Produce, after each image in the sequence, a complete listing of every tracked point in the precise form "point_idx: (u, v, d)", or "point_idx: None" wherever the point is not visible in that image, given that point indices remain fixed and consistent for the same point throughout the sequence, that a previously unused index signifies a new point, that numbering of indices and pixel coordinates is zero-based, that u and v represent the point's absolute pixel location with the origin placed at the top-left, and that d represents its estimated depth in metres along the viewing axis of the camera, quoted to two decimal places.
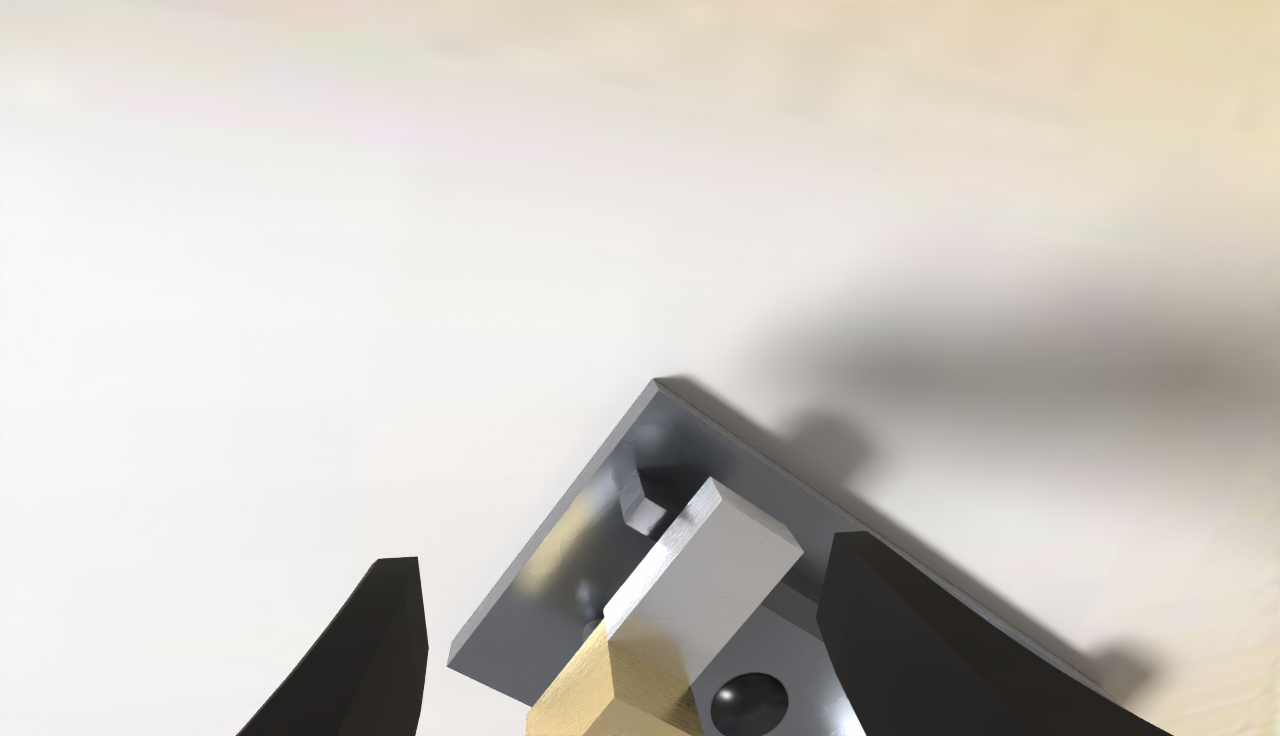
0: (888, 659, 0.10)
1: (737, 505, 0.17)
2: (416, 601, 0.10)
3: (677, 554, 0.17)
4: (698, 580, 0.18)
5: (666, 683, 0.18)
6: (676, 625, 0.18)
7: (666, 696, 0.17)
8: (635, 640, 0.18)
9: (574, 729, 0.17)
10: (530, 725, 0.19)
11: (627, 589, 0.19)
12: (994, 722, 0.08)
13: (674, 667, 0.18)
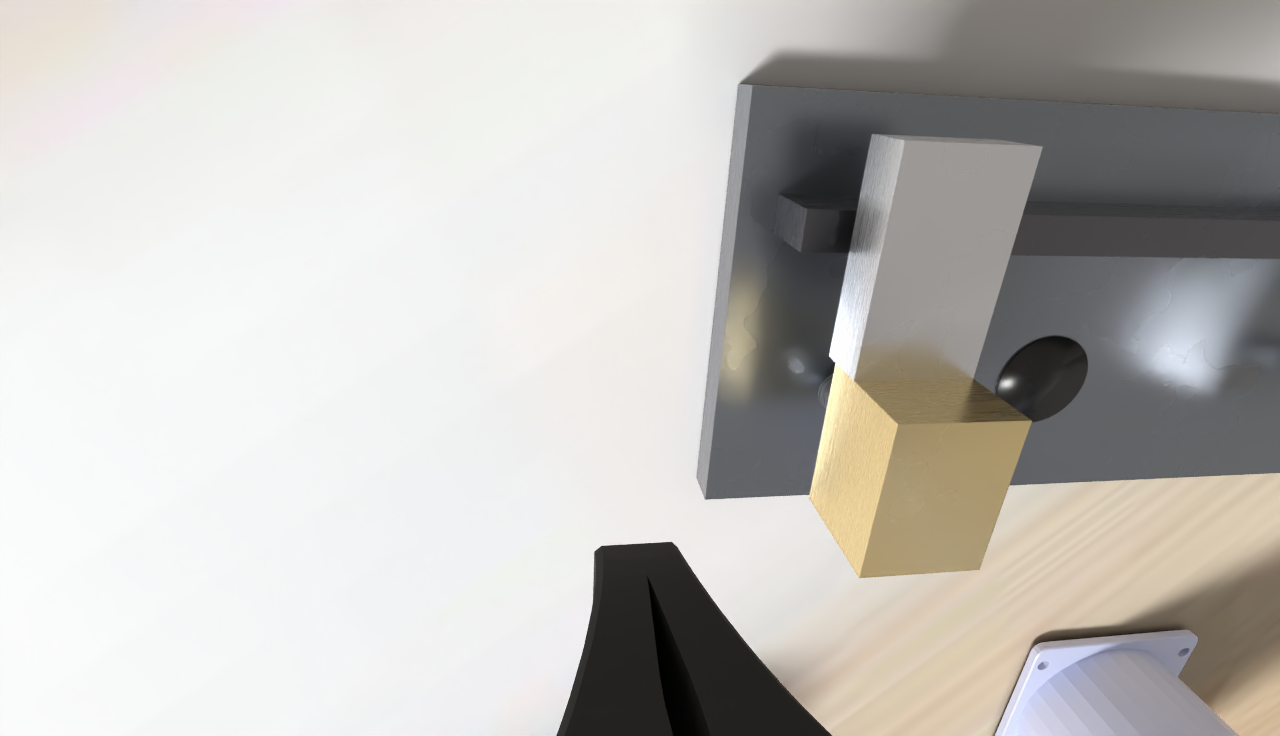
0: (660, 680, 0.09)
1: (926, 140, 0.13)
2: None
3: (883, 241, 0.13)
4: (924, 257, 0.14)
5: (945, 388, 0.14)
6: (923, 322, 0.14)
7: (954, 399, 0.14)
8: (884, 363, 0.15)
9: (871, 480, 0.14)
10: (819, 505, 0.17)
11: (843, 318, 0.15)
12: None
13: (944, 369, 0.15)
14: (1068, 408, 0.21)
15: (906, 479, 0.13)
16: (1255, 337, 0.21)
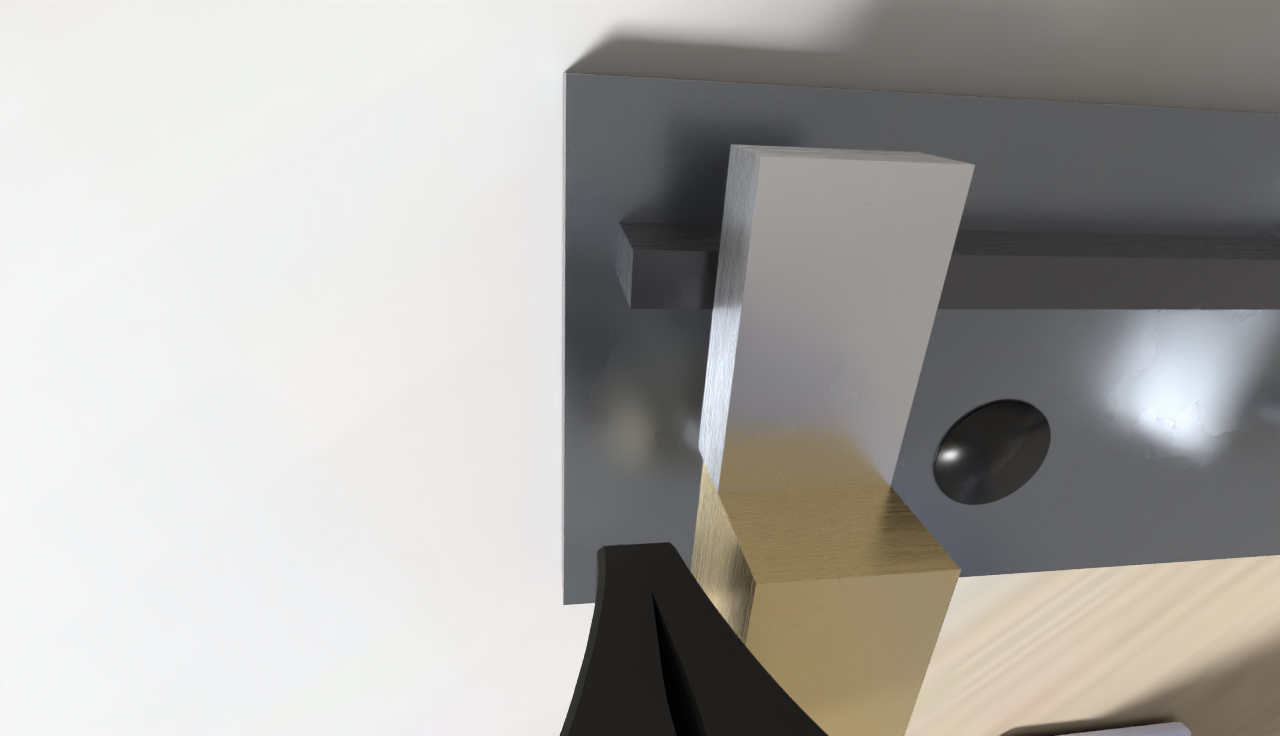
0: None
1: (799, 155, 0.09)
2: None
3: (741, 303, 0.09)
4: (805, 325, 0.09)
5: (846, 506, 0.10)
6: (812, 414, 0.10)
7: (854, 528, 0.10)
8: (760, 470, 0.10)
9: None
10: None
11: (709, 402, 0.11)
12: None
13: (848, 474, 0.11)
14: (1027, 486, 0.16)
15: (777, 652, 0.09)
16: (1262, 397, 0.16)
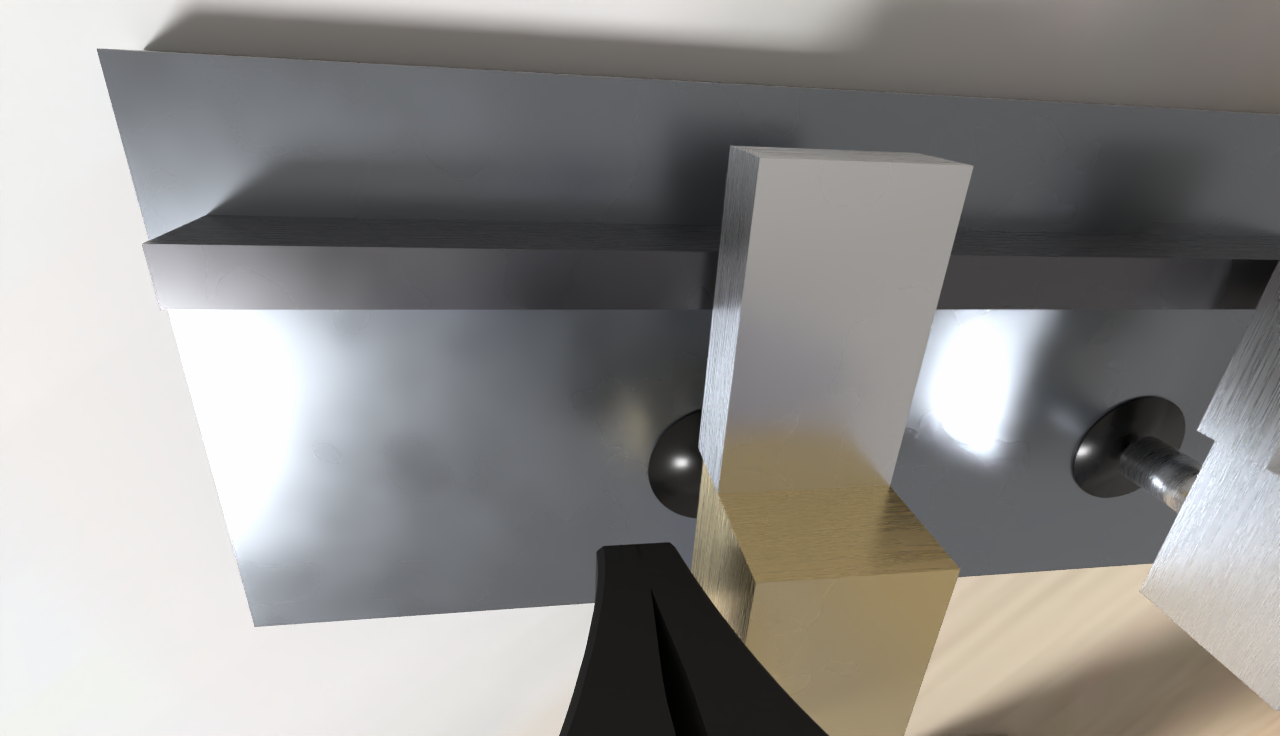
0: None
1: (798, 156, 0.09)
2: None
3: (741, 304, 0.09)
4: (804, 325, 0.09)
5: (846, 505, 0.10)
6: (812, 414, 0.10)
7: (854, 527, 0.10)
8: (760, 470, 0.10)
9: None
10: None
11: (709, 402, 0.11)
12: None
13: (848, 474, 0.11)
14: None
15: (777, 652, 0.09)
16: (1012, 403, 0.15)
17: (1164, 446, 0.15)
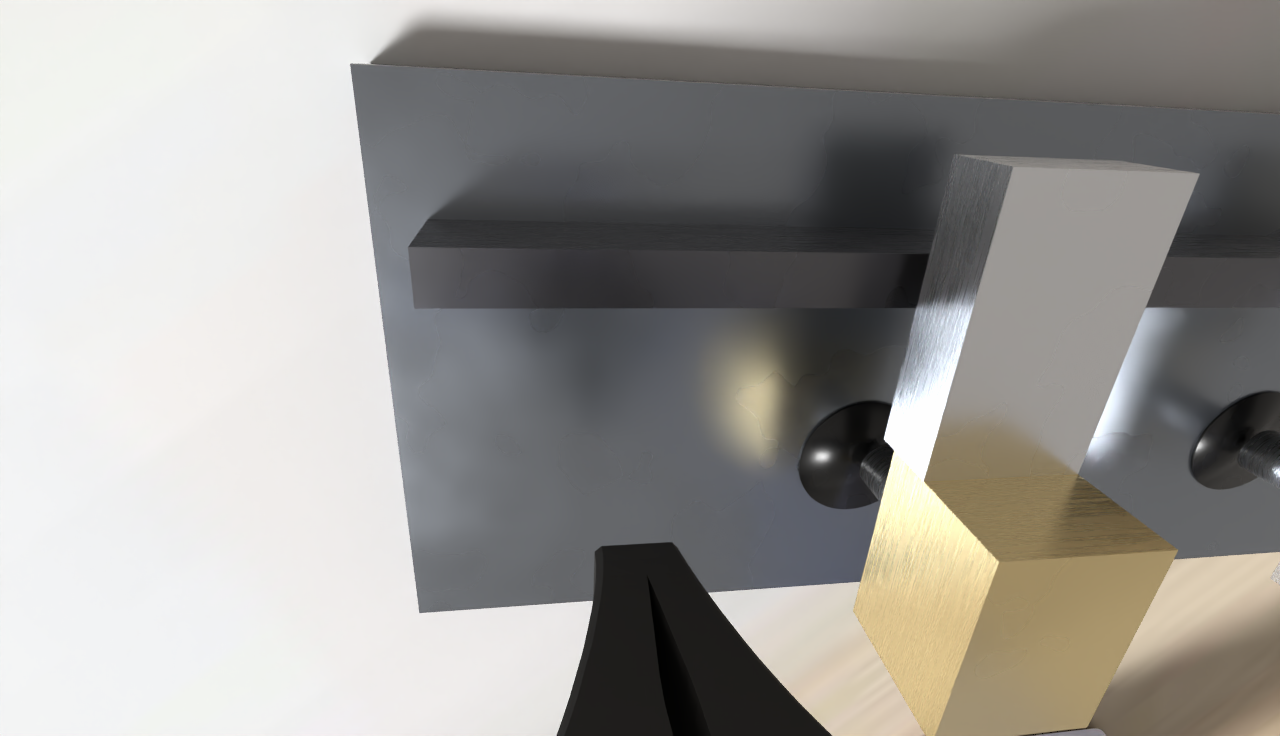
0: (660, 680, 0.09)
1: (1038, 164, 0.09)
2: None
3: (973, 302, 0.10)
4: (1026, 322, 0.10)
5: (1046, 492, 0.11)
6: (1019, 406, 0.11)
7: (1063, 512, 0.10)
8: (965, 459, 0.11)
9: (951, 624, 0.10)
10: (868, 626, 0.13)
11: (907, 395, 0.11)
12: None
13: (1042, 463, 0.11)
14: None
15: (1003, 628, 0.10)
16: (1142, 398, 0.16)
17: None
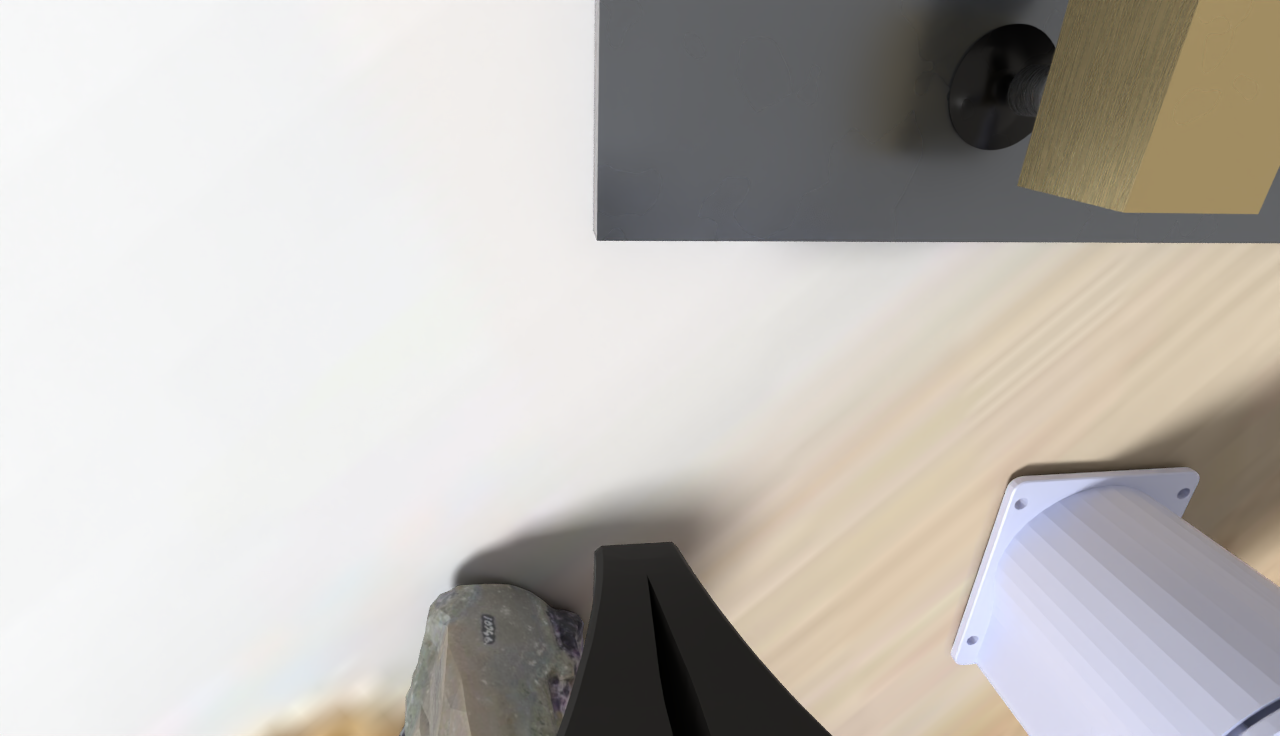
0: (660, 680, 0.09)
1: None
2: None
3: None
4: None
5: None
6: None
7: None
8: None
9: (1150, 76, 0.11)
10: (1038, 180, 0.14)
11: None
12: None
13: None
14: None
15: (1204, 57, 0.11)
16: None
17: None
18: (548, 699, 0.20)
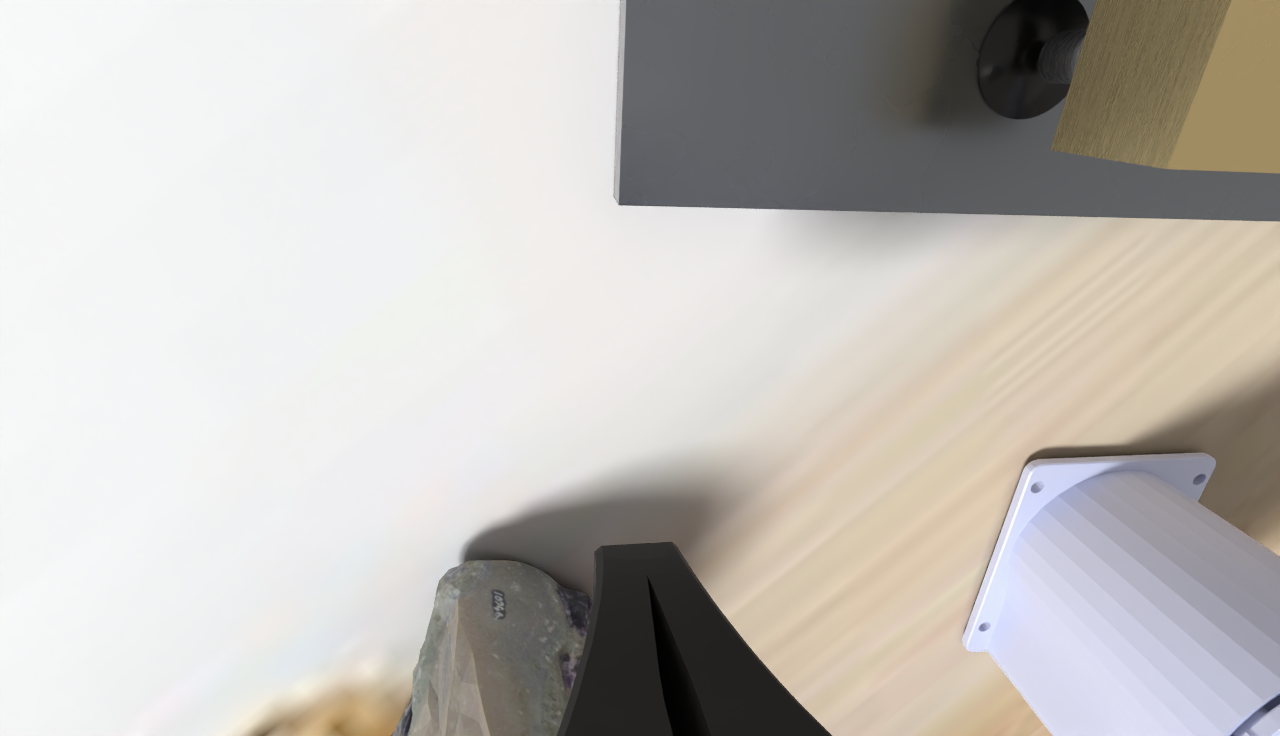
0: (660, 680, 0.09)
1: None
2: None
3: None
4: None
5: None
6: None
7: None
8: None
9: (1197, 27, 0.11)
10: (1073, 143, 0.14)
11: None
12: None
13: None
14: None
15: (1254, 7, 0.11)
16: None
17: None
18: (559, 676, 0.19)
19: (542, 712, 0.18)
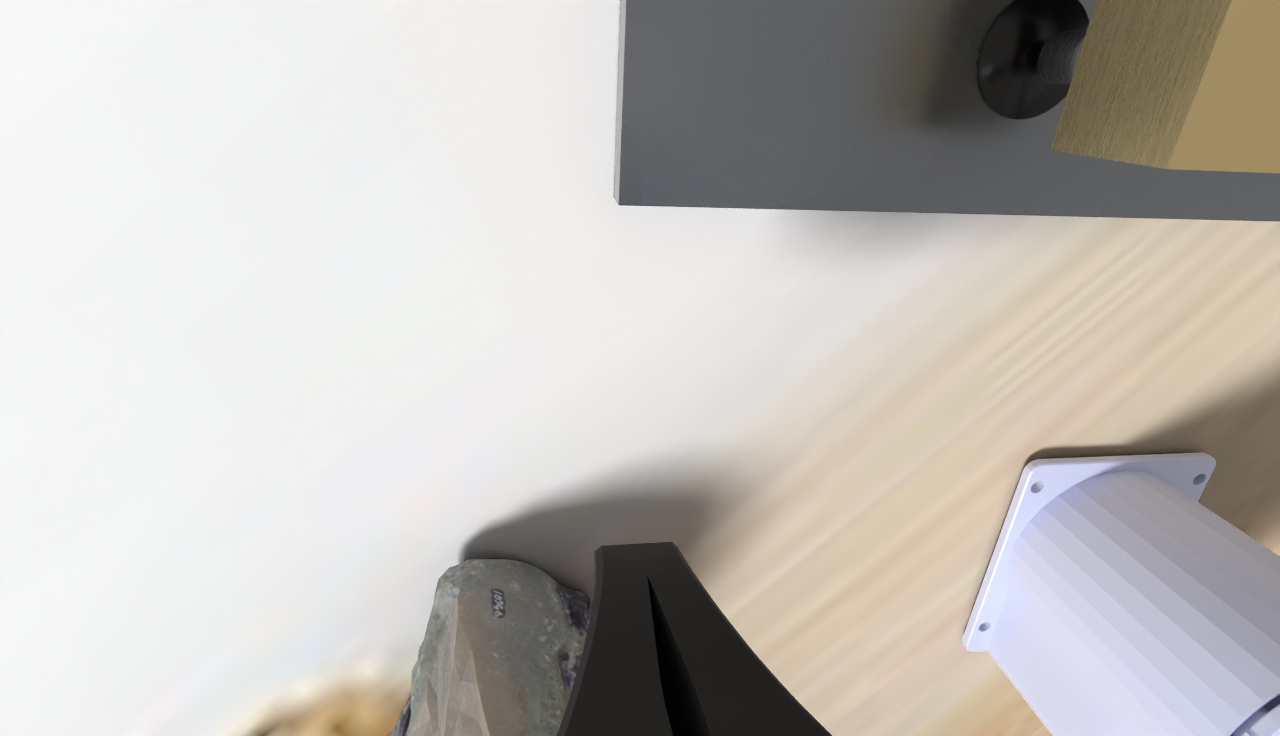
0: (660, 680, 0.09)
1: None
2: None
3: None
4: None
5: None
6: None
7: None
8: None
9: (1197, 27, 0.11)
10: (1073, 143, 0.14)
11: None
12: None
13: None
14: None
15: (1254, 7, 0.11)
16: None
17: None
18: (558, 675, 0.19)
19: (541, 712, 0.18)
